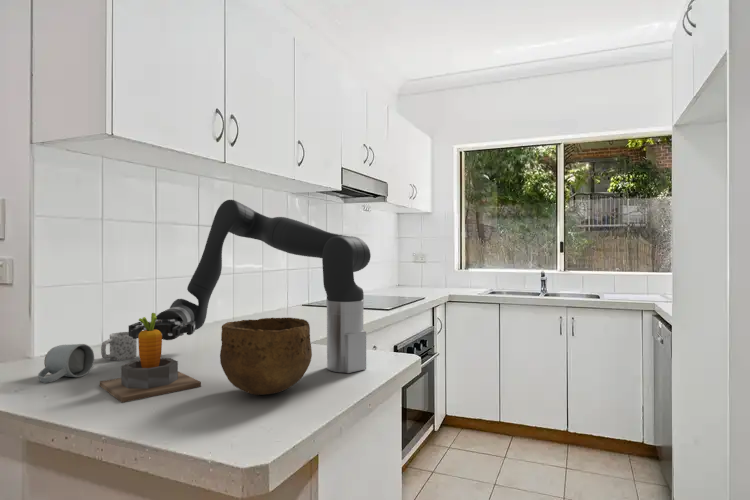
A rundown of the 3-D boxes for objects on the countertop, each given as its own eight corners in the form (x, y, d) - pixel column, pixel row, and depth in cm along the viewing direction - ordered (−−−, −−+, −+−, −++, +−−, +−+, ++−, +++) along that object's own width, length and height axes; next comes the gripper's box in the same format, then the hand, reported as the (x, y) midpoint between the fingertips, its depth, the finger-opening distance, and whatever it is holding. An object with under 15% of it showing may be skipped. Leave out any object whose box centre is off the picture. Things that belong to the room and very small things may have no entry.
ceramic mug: (68, 370, 121) (67, 339, 121) (95, 372, 119) (94, 341, 119) (28, 382, 111) (27, 349, 110) (57, 385, 109) (56, 351, 108)
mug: (125, 354, 139) (124, 331, 139) (142, 356, 137) (141, 332, 137) (92, 361, 130) (92, 337, 130) (110, 364, 128) (110, 338, 128)
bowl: (282, 375, 115) (282, 313, 115) (329, 393, 101) (328, 322, 101) (204, 391, 103) (204, 321, 103) (245, 414, 89) (245, 332, 89)
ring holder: (200, 386, 107) (200, 363, 106) (122, 402, 96) (121, 377, 95) (172, 372, 118) (172, 352, 118) (99, 385, 107) (99, 363, 107)
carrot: (144, 386, 103) (144, 316, 103) (133, 381, 106) (133, 313, 106) (166, 380, 107) (166, 313, 107) (155, 376, 110) (155, 311, 110)
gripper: (143, 308, 125) (120, 318, 109) (201, 307, 127) (187, 316, 111) (143, 338, 125) (120, 351, 109) (201, 336, 127) (187, 349, 111)
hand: (154, 333), depth 110 cm, fingers open, 8 cm apart
